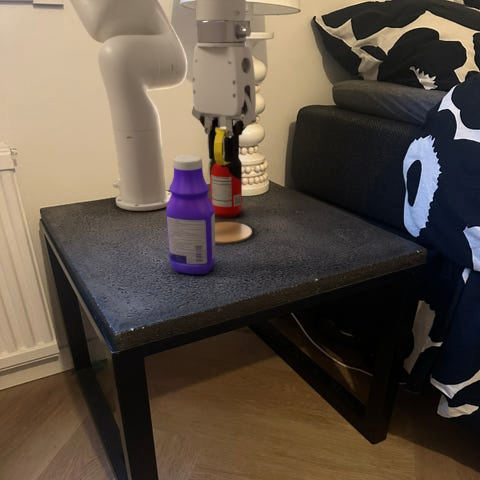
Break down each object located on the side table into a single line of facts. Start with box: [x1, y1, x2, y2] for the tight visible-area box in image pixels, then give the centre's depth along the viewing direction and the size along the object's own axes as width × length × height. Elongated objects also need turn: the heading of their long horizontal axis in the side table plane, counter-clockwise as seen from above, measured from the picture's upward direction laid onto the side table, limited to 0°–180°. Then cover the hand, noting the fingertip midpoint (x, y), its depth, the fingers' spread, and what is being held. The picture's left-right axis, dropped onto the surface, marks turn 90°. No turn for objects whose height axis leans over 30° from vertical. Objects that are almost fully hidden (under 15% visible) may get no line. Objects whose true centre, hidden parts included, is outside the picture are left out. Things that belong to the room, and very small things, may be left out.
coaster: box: [215, 221, 253, 245], centre depth 89 cm, size 10×10×1 cm
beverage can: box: [209, 150, 243, 219], centre depth 95 cm, size 6×6×12 cm
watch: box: [214, 126, 230, 165], centre depth 81 cm, size 6×3×6 cm, turn 162°
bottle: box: [165, 154, 216, 275], centre depth 72 cm, size 7×6×17 cm
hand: (223, 158), depth 82 cm, fingers closed on watch, 2 cm apart
